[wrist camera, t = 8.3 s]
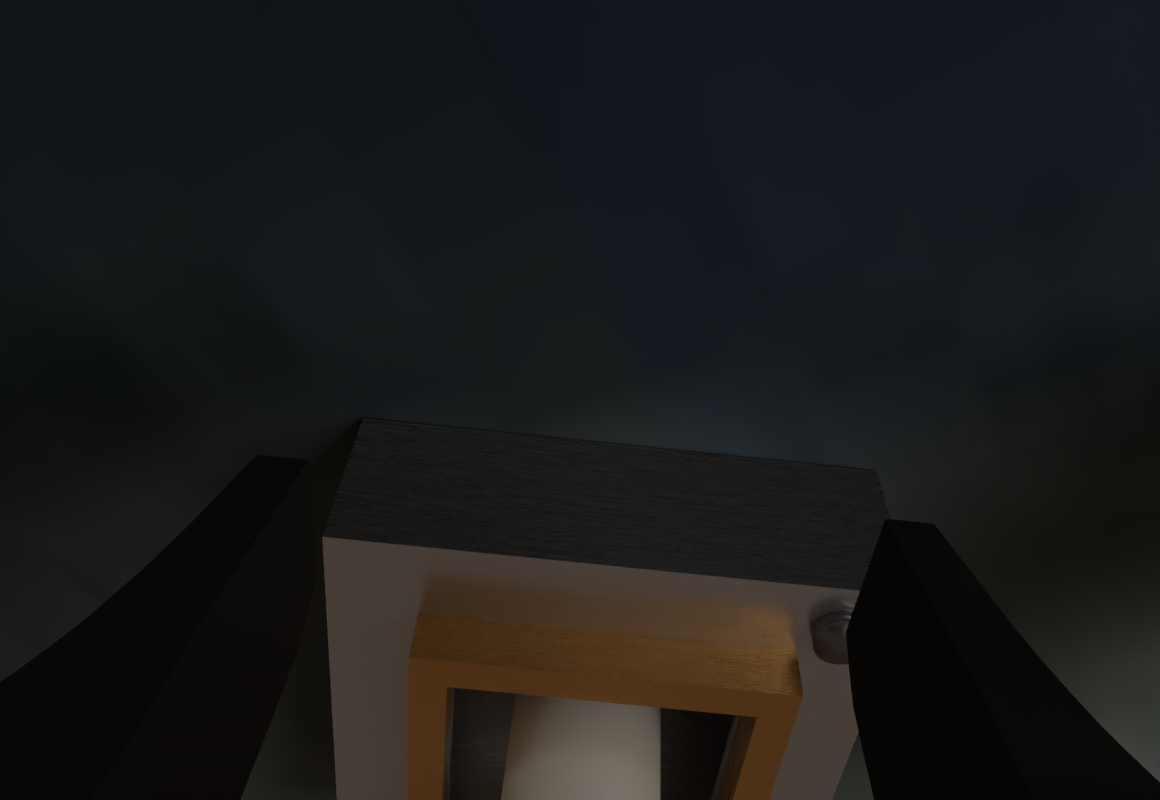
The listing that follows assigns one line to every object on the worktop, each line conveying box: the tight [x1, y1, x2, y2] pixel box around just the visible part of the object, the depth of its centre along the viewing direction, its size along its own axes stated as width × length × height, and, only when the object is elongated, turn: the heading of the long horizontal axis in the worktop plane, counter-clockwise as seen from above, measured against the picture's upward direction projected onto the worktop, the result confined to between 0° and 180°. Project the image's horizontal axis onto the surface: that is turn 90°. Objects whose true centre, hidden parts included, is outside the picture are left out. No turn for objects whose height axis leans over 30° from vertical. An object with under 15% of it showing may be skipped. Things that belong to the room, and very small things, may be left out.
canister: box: [501, 694, 661, 800], centre depth 26 cm, size 4×4×7 cm
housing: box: [322, 418, 890, 800], centre depth 27 cm, size 12×12×5 cm
